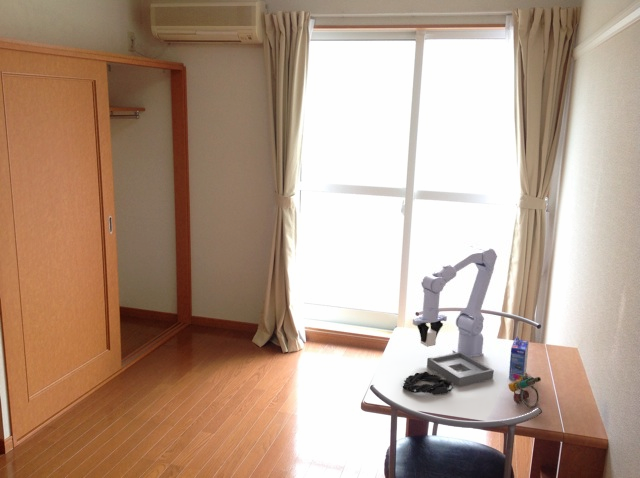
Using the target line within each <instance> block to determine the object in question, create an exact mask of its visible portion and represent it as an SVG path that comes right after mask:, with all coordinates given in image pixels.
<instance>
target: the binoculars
mask: <svg viewBox="0 0 640 478" xmlns="http://www.w3.org/2000/svg"><path fill="white" fill-rule="evenodd" d="M541 380H542V378H541V377H540V376H537V377H534V376H532V377H528V376H527V375H525V376H523V380H522V379H520V380H515V382H511V383H510V382H509V383H508V389H509V390H510V392H512V393H513V400H514V402H515V403H516V404H519V403H523V404H524V405H525V407H526V406H527V407H529V408H532V407H535V406H537V405H538V403H539V400H540V399H539V392H538V389H537V388H536V387H534V385H535V384H536V383H539V382H541ZM528 387H530V388H531V389H532V390H534V391H535V393H536V394H535V395H536V401H535V403H534V405H529V404H528V403H526V401H525V400H528V399H530V392H529V391H528V390H527V389H525V388H528ZM518 390H519V393H517V391H518Z"/></svg>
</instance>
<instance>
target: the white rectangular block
mask: <svg viewBox="0 0 640 478" xmlns="http://www.w3.org/2000/svg"><path fill="white" fill-rule="evenodd" d="M436 340H437V337H436V331H434V330H433V329H431V327H429V329H428V332H427V339H426V342H423V341H421V340H420V344H421V345H423V346H425V347H432V346H436V343H437V341H436Z"/></svg>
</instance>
